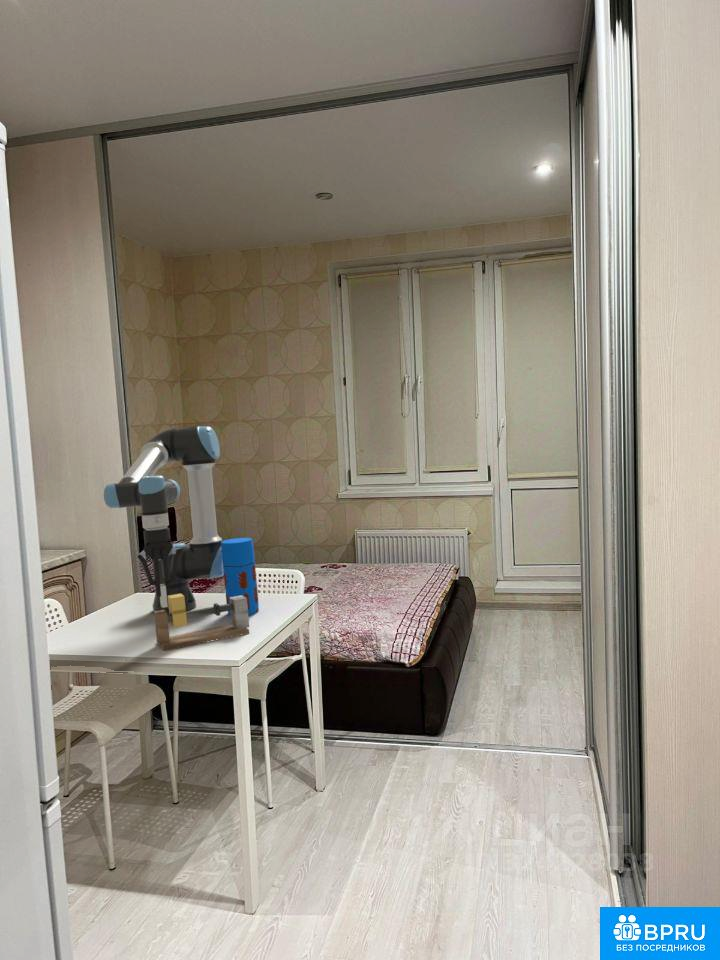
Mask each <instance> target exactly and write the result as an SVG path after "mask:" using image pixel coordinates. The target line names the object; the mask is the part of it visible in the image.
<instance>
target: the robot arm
mask: <svg viewBox="0 0 720 960" xmlns="http://www.w3.org/2000/svg"><path fill="white" fill-rule="evenodd" d="M220 451H221V448H220V442H219V439H218V436H217V434H216V432H215V430H214V429H213V428H212V427H211V426H201V425H200V426H190V427H178V428H168V429H166V430H163V431H160V432H159V433H157V434H155V435H154V436H152V437H150V438H149V439H148V440H147V441H146V442H145V444H143V446H142V447H141V450H140V454H139V456H137V458H136V460H134V462H133V464H132V465H131V466H130V468H129V469H128V470H127V471H126V473H125V474H124V475H123V477H122V478H121V479H120V480H119V482H117V483H115V482H114V483H109V484H106V485H105V487H104V489H103V500H104V503H105V505H106V506H107V507H108V508H110V509H117V508H118V509H123V508H131V507H132V508H134V507H140V508H141V509H140V510H141V522H142V523H141V524H142V528H143V529H144V530H143V540H144V541H143V542H144V544H143V545H144V546H143V548H142V549H143V550H142V551H141V552H140V553H137V554H136V558H137V559H138V561H140V563H141V567H142V569H143V572H144V575H145V578H146V580H147V583H148V584H149V585H151V586H154V589H155V594H154V599H153V603H152V612H153V613H154V612H155V611H161V610H165V611H166V612H167V615H169V605H168V596H169V595H175V594H182V595H184V598H185V608H186V612H187V611H192V610H194V609H195V608H197V602H196V598H195V596H194V594H193V591H192V589H191V587H190V582H189V580H201V579H202V580H203V579H211V580H213V579H215V578H221V577H224V571H223V561H222V550H221V542H222V541H223V538H222V537H221V536H219V534H218V526H217V516H216V513H217V512H216V501H215V492H214V483H213V481H214V480H213V470H212V469H213V468H214V466H215V465H216V460H217V459H218V458H219V457H220V456H221V455H220V453H221V452H220ZM171 462H181V464H182V465H181V466H182V467H183V468H184V469H185V470H186V472H187V483H188V494H189V495H188V496H189V504H190V507H189V508H190V514H191V526H192V527H191V528H192V538H191V540H190V541H189V542H188V543H189V546H186V545H187V544H186V543H185V542H177V543H174V544H173V542H172V540H171V531H170V528H169V526H170V523H169V522H170V520H169V511H168V505H169V504H170V505H171V504H173V503H174V502H175V501H177V500H178V499H179V497H180V495H181V487H180V485H179V483H178V482H177V481H175V480H173V479H171V478H170V479H169V478H165V477H164V476H163V475H155V474H156V473H157V472H158V470H159V469H160V468H161V467H164V466H165V465H166V464H167V463H171ZM146 555H147V556H148V557H149V558H150V559H151V562H152V570H153V571H152V572H153V576H152V574H151V570H150V568H149V565H148V562H147V560H146V558H147V557H146Z"/></svg>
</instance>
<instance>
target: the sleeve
mask: <svg viewBox="0 0 720 960" xmlns="http://www.w3.org/2000/svg"><path fill="white" fill-rule="evenodd" d="M168 605H169V614H168V615H171V614H172V620H173V622H169V624H170V626H172V628H174V629H175V628H179V627H185V626H188V621H187V620H188V619H187V618H186V612H187V611H186V608H185V598H184V595H182V594H175V595H169V596H168Z"/></svg>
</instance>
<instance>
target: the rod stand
mask: <svg viewBox="0 0 720 960" xmlns="http://www.w3.org/2000/svg"><path fill="white" fill-rule="evenodd" d="M212 605H213V606H210V607H204V608H203V607H202V608H198V609H191V610H188V611H186V618H187V620H188V619H193V618H194V619H195V618H198V617H203V616H207V615H213V614H214V615H216V616H217V617H219V616H221V613H225V612H228V611H231V616H230V617H231V624H227V625H222V626H217V627H211V628H207V629H202V630H197V631H191V632H185V633H181V634H175V635H172V636H170V627H169V623H170V622H173V620H172V614H171V615H169V614H167V612H166V611H165V610H161V611H155V612H153V615H154V625H155V633H156V634H155V635H156V644H157V645H158V646H159V647H160V648H161V650H163V651H171V650H175V649H174V648H176V649H179V648H178V647H181V648H184V647H183V646H185V647H190V646H194V645H193V644H195V645H198V643H200V644H204V643H203V642H205V643H208V642H207V641H210V642H212V641H211V640H215V641H217V640H216V639H219V640H223V639H222V638H224V639H227V638H226V637H229V638H231V637H230V636H234V637H237V636H236V635H239V636H242V635H241V634H244V635H247V634H250V629H249V628H250V619H249V615H248V606H247V598H246V597H244V596H242V595H241V596H235V597H230V604H227V603H225V604H219V603H213V604H212ZM189 645H190V646H189Z"/></svg>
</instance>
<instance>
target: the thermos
mask: <svg viewBox="0 0 720 960" xmlns="http://www.w3.org/2000/svg"><path fill="white" fill-rule="evenodd" d="M221 550H222V561H223V571H224V575H223V581H224V591H225V601H226V603H225V604H230V597H235V596H241V595H242V596H244V597H246V598H247V606H248V616H252V615H254V614H257V613H259V611H260V610H259V608H260V606H259V605H260V604H259V593H258V591H259V590H258V583H257V582H258V581H257V572H256V570H257V569H256V561H255V559H256V558H255V549H254V541H253V538H252V537H240V538H239V537H238V538H230V539H225V540H222V542H221ZM227 614H228V616H229V615H230V617H231V611H227Z"/></svg>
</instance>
